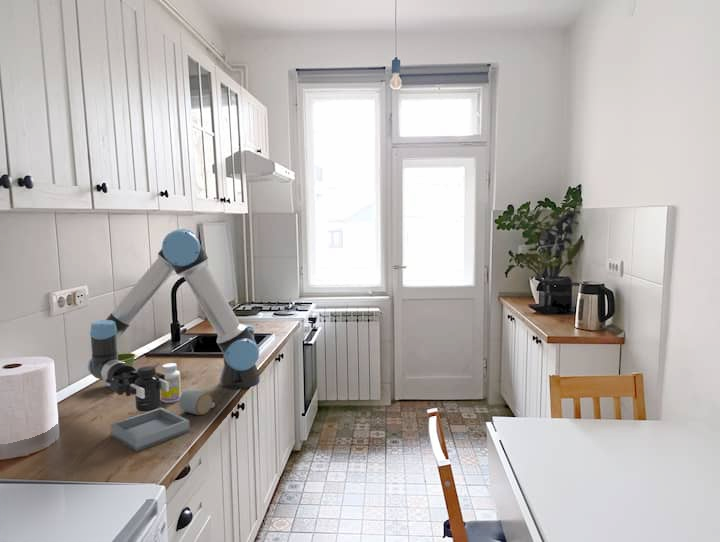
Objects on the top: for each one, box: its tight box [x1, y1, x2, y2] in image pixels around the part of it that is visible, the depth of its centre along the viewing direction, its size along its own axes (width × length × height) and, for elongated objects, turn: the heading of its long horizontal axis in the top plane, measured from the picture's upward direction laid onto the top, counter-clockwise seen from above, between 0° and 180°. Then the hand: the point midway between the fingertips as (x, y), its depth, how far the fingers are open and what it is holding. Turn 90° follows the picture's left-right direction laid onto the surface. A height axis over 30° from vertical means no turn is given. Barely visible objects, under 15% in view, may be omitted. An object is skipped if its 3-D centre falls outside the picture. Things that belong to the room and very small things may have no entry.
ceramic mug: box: [178, 387, 216, 416], centre depth 157 cm, size 11×8×8 cm
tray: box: [109, 406, 191, 452], centre depth 140 cm, size 16×16×4 cm
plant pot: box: [118, 352, 137, 367], centre depth 182 cm, size 12×12×11 cm
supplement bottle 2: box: [160, 362, 182, 404], centre depth 166 cm, size 7×7×13 cm
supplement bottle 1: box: [134, 365, 162, 412], centre depth 139 cm, size 7×7×12 cm
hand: (155, 390), depth 136 cm, fingers closed on supplement bottle 1, 7 cm apart
